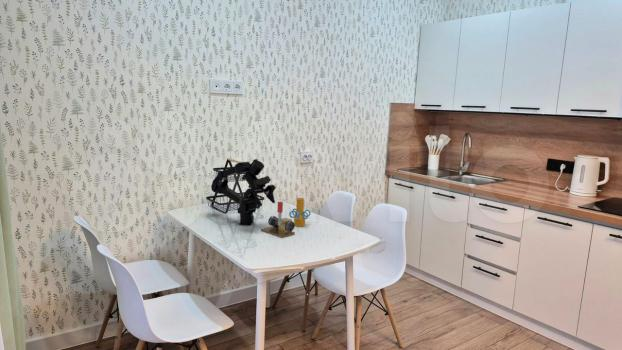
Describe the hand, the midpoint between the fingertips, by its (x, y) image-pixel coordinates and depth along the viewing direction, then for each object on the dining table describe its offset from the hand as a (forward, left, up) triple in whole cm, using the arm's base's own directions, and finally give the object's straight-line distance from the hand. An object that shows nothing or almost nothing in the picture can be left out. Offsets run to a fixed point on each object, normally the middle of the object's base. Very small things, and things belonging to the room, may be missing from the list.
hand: (268, 204), depth 223 cm
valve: (+6, -2, -14) cm, 15 cm away
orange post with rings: (+14, +14, -14) cm, 24 cm away
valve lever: (+8, -6, -8) cm, 13 cm away
